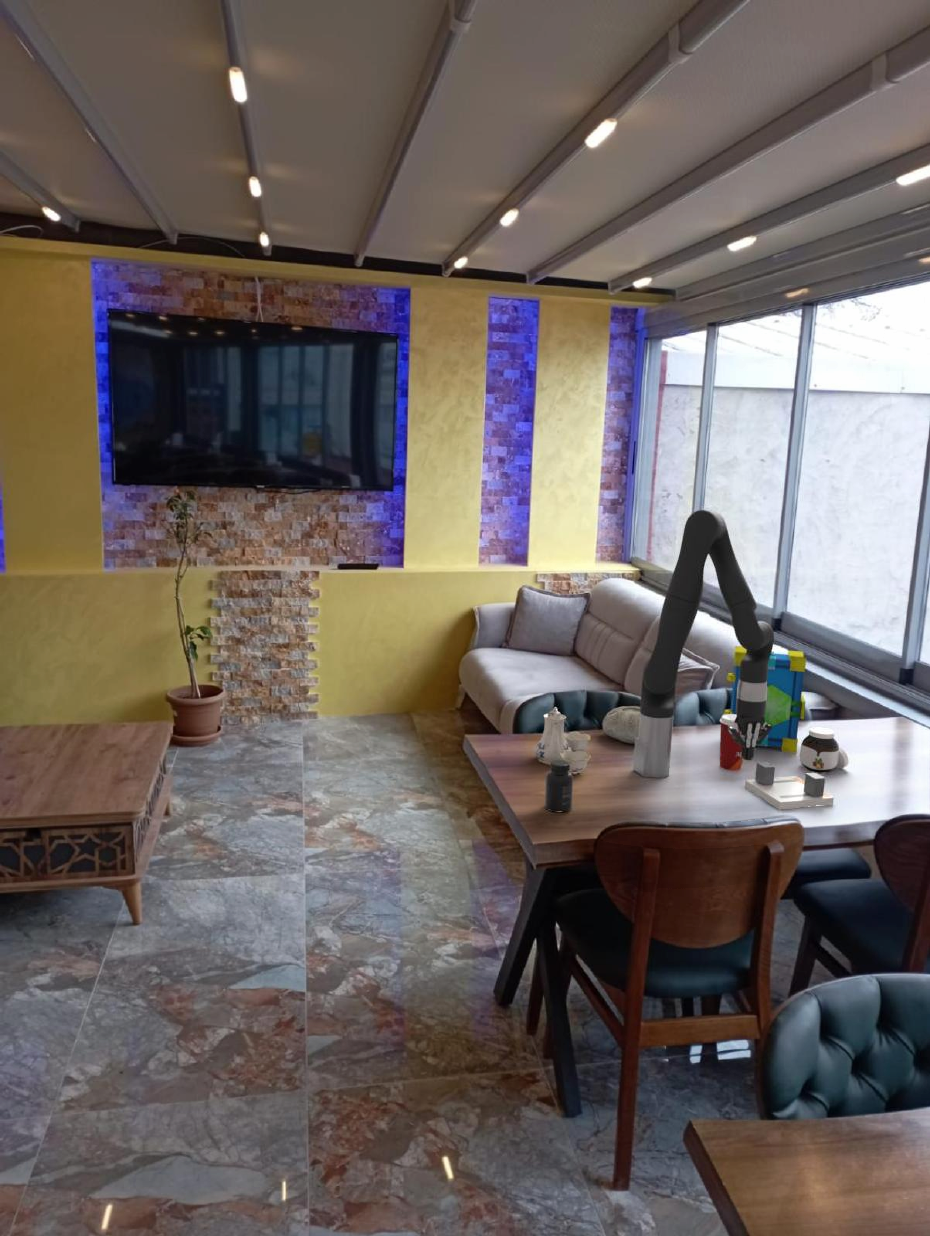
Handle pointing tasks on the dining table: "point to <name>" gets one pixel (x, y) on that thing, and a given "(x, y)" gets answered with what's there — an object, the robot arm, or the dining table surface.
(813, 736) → the spread jar
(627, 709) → the decorative shell
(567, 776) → the supplement bottle
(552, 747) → the chinaware
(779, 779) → the panel
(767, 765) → the block
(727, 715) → the coffee cup
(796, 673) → the blue yellow rectangular box
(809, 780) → the breaker
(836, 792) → the dining table surface
